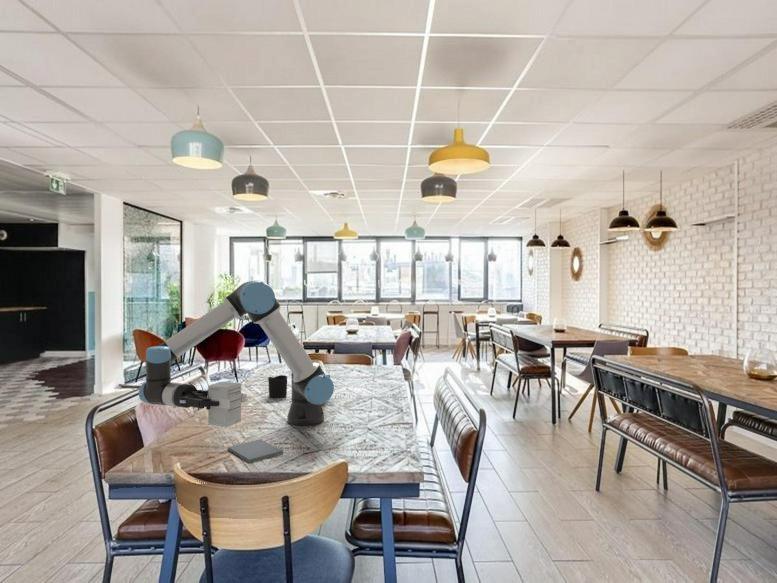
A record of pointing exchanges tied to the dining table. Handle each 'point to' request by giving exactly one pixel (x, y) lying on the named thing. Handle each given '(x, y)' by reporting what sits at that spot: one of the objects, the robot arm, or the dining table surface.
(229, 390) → the supplement box
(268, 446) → the slate mat
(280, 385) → the pen holder
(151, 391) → the robot arm
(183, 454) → the dining table surface
